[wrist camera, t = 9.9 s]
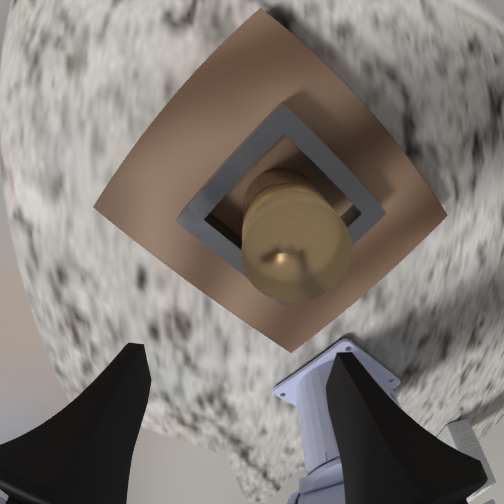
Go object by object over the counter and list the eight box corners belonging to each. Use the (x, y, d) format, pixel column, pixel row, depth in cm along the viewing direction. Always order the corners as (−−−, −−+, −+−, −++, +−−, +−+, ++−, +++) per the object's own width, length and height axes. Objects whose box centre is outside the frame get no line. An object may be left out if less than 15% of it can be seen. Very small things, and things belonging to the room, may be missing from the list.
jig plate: (435, 207, 18) (447, 215, 17) (288, 338, 23) (291, 352, 21) (259, 15, 13) (260, 8, 12) (103, 199, 18) (93, 207, 16)
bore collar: (376, 204, 17) (386, 213, 15) (281, 291, 19) (284, 306, 18) (279, 103, 14) (282, 103, 13) (181, 211, 17) (175, 221, 15)
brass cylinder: (333, 203, 17) (372, 251, 11) (282, 253, 18) (296, 319, 12) (279, 152, 15) (298, 177, 10) (227, 207, 17) (218, 260, 11)
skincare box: (449, 439, 34) (473, 500, 23) (426, 446, 34) (449, 511, 23) (468, 416, 32) (499, 481, 21) (445, 423, 31) (474, 494, 20)
